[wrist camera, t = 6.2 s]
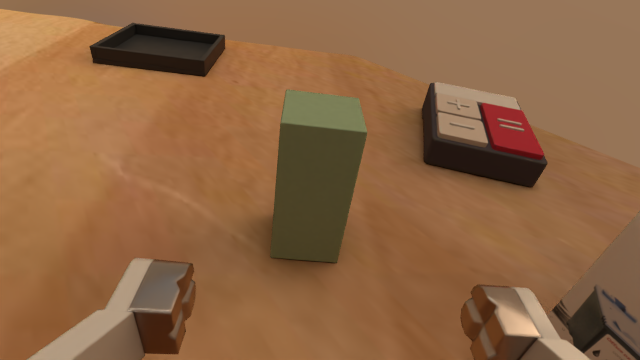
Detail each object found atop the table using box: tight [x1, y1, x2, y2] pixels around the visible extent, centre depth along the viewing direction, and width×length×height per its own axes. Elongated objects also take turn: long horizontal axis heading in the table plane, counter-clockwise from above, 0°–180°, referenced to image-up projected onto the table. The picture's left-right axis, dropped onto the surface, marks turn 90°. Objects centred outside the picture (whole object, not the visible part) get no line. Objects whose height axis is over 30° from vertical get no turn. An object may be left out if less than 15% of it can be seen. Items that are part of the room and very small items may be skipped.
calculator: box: [422, 82, 547, 187], centre depth 41 cm, size 11×4×15 cm
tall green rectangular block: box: [270, 90, 367, 263], centre depth 23 cm, size 4×4×10 cm
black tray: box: [90, 23, 225, 76], centre depth 52 cm, size 14×13×2 cm
